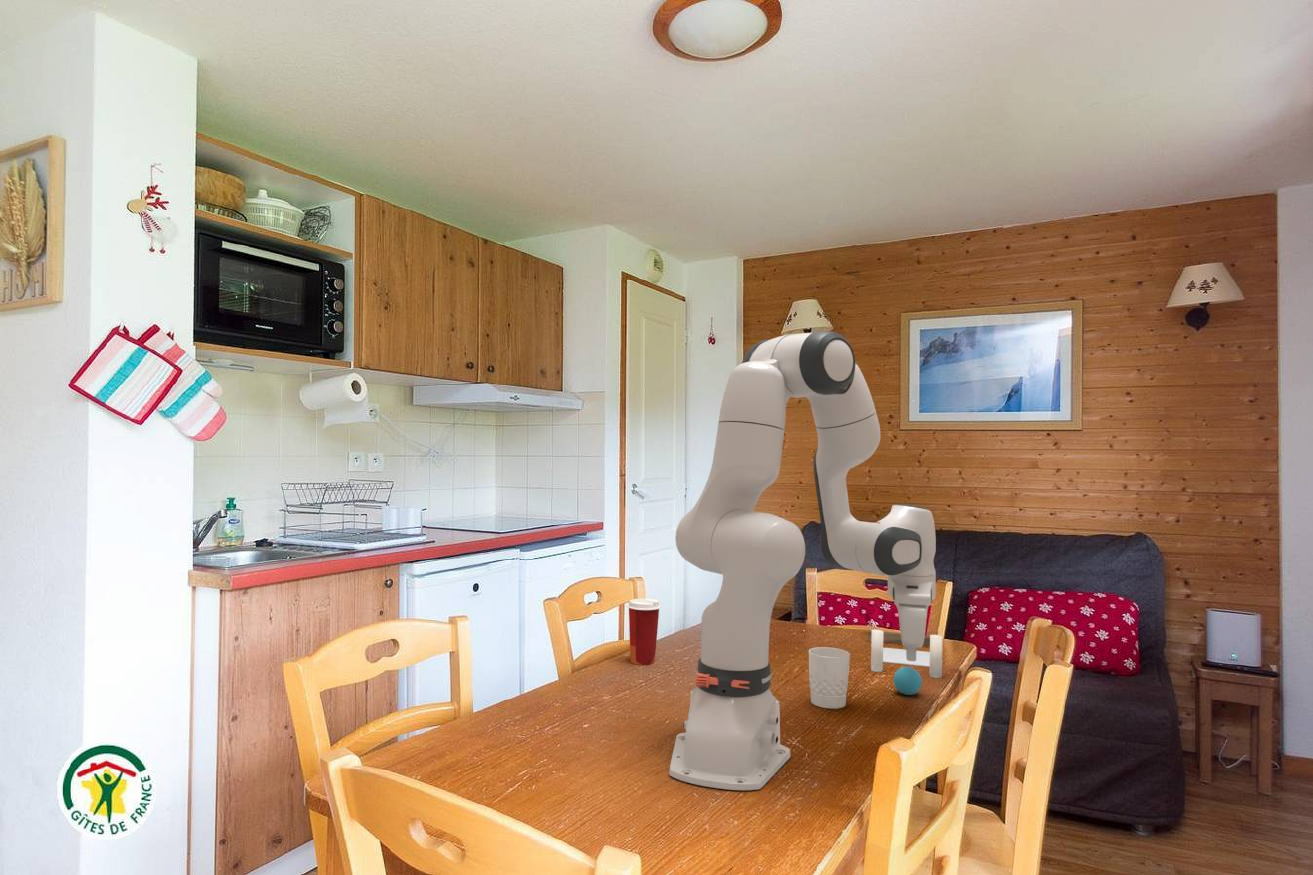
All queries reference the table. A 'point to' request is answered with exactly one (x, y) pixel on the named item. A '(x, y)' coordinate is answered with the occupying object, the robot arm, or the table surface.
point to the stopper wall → (896, 638)
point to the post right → (935, 656)
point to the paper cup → (643, 630)
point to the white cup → (828, 676)
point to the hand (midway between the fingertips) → (911, 659)
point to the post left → (877, 650)
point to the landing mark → (900, 657)
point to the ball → (907, 680)
